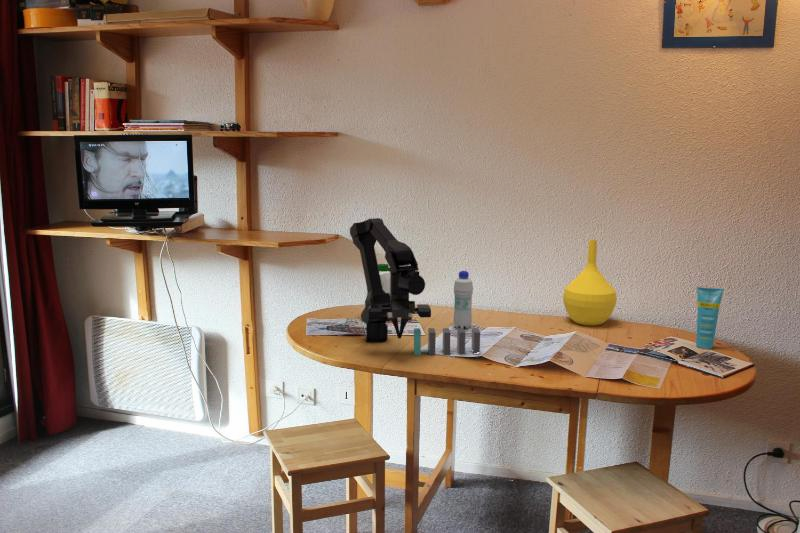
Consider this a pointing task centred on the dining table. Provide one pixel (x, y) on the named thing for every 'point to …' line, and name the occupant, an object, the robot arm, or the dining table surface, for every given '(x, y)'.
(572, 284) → the vase
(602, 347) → the dining table surface
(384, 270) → the milk carton
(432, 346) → the domino
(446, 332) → the domino
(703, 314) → the tube
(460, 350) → the domino
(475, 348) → the domino
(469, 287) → the bottle
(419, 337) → the domino
